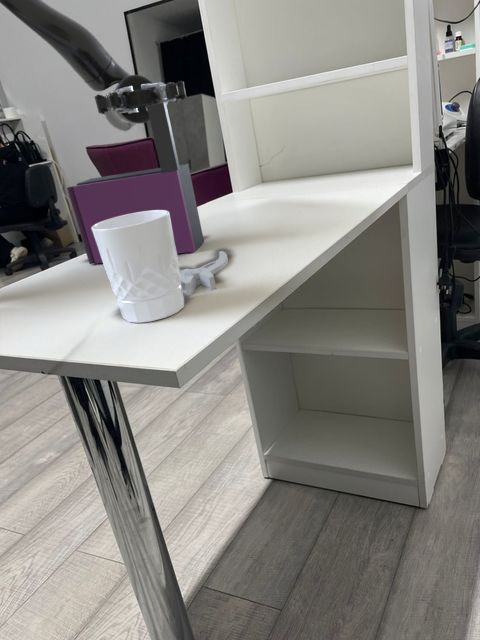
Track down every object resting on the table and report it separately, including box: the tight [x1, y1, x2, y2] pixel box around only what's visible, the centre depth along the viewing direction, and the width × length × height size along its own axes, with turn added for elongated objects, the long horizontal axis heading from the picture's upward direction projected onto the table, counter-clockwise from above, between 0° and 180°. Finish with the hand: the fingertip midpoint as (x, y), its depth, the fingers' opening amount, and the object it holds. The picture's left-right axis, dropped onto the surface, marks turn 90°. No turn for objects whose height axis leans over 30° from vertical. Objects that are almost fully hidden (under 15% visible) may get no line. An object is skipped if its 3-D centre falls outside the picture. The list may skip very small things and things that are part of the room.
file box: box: [76, 163, 205, 251], centre depth 83 cm, size 16×5×12 cm, turn 81°
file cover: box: [66, 102, 197, 265], centre depth 78 cm, size 17×1×20 cm, turn 81°
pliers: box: [180, 250, 229, 296], centre depth 69 cm, size 10×2×15 cm
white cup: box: [91, 210, 185, 324], centre depth 56 cm, size 8×8×10 cm
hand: (144, 95), depth 81 cm, fingers open, 8 cm apart
